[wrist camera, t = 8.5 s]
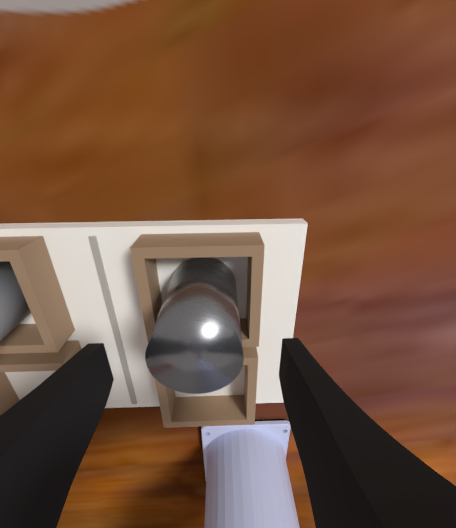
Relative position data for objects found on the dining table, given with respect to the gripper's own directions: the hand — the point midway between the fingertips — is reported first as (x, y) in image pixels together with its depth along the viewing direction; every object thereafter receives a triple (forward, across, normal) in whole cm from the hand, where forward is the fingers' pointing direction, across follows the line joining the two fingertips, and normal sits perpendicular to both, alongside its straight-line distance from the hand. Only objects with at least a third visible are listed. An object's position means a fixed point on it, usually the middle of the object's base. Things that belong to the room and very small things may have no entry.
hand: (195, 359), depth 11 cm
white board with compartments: (+7, +6, +4) cm, 10 cm away
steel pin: (+6, 0, 0) cm, 6 cm away
